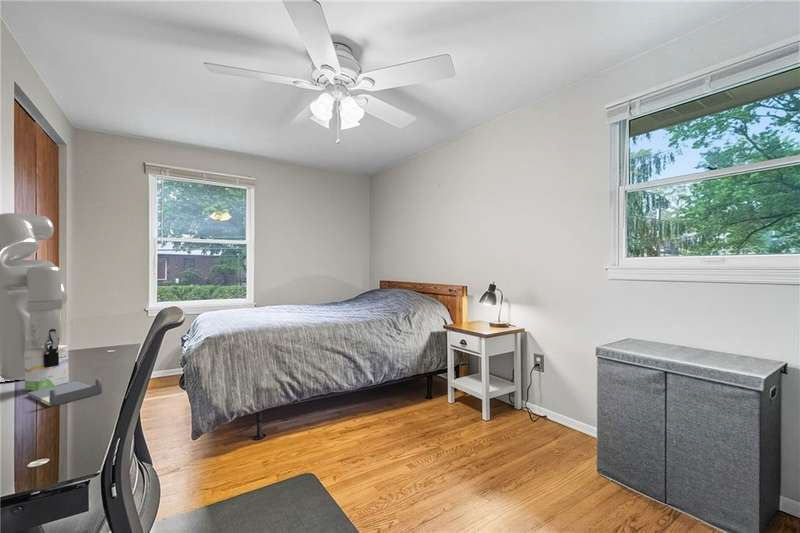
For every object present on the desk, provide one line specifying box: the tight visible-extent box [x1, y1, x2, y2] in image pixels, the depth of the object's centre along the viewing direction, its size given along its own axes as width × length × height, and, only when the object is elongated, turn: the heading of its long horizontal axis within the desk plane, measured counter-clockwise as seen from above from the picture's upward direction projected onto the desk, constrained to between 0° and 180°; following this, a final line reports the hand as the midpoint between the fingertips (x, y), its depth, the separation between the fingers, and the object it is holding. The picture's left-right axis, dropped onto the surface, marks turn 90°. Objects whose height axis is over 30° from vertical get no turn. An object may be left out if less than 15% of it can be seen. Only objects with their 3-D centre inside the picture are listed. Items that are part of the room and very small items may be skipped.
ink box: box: [24, 340, 69, 392], centre depth 109 cm, size 9×5×15 cm, turn 168°
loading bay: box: [27, 378, 103, 407], centre depth 102 cm, size 17×11×4 cm, turn 60°
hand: (47, 364), depth 109 cm, fingers closed on ink box, 6 cm apart
